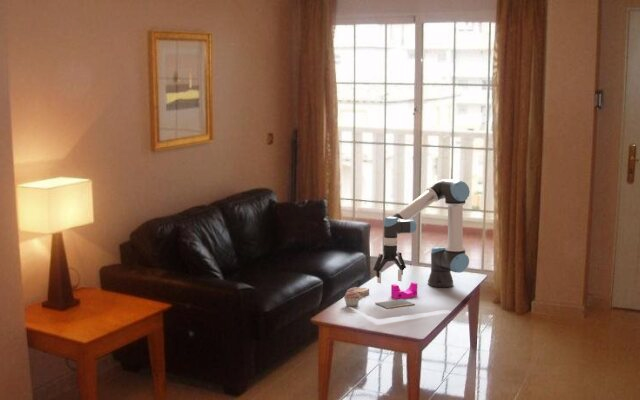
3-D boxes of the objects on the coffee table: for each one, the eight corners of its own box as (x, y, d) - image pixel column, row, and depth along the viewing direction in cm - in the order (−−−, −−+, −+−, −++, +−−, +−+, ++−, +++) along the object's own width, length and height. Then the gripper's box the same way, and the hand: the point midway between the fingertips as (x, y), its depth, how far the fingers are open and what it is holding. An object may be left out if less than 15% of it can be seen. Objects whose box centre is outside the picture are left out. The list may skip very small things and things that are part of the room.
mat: (402, 300, 440) (402, 299, 440) (414, 304, 429) (414, 303, 429) (375, 303, 431) (375, 302, 431) (386, 308, 421) (386, 307, 421)
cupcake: (357, 308, 422) (357, 290, 421) (341, 306, 425) (341, 288, 424) (362, 304, 431) (362, 286, 430) (346, 302, 434) (346, 285, 433)
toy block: (396, 299, 442) (396, 286, 441) (391, 297, 447) (391, 284, 446) (419, 297, 448) (419, 284, 447) (413, 294, 453) (413, 282, 452)
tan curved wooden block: (346, 290, 448) (360, 291, 443) (355, 286, 456) (369, 288, 451) (346, 297, 448) (360, 299, 443) (355, 293, 457) (369, 295, 452)
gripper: (405, 242, 446) (404, 278, 448) (367, 245, 434) (366, 282, 437) (412, 244, 439) (411, 281, 441) (374, 247, 428) (373, 285, 430)
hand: (389, 282), depth 439 cm, fingers open, 13 cm apart
